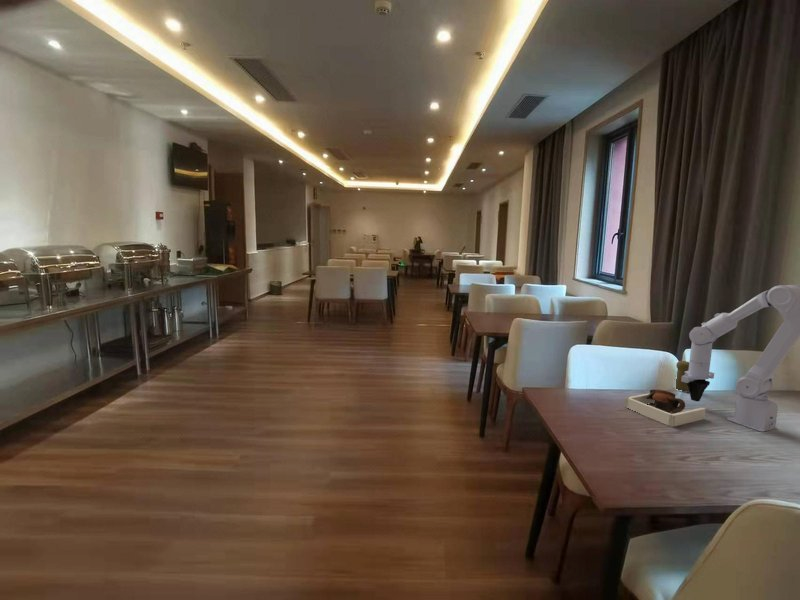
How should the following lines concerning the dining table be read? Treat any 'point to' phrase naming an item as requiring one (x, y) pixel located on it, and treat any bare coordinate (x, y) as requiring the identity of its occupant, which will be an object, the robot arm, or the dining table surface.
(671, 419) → the box
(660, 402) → the pottery mug
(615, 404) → the dining table surface
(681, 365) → the cork
